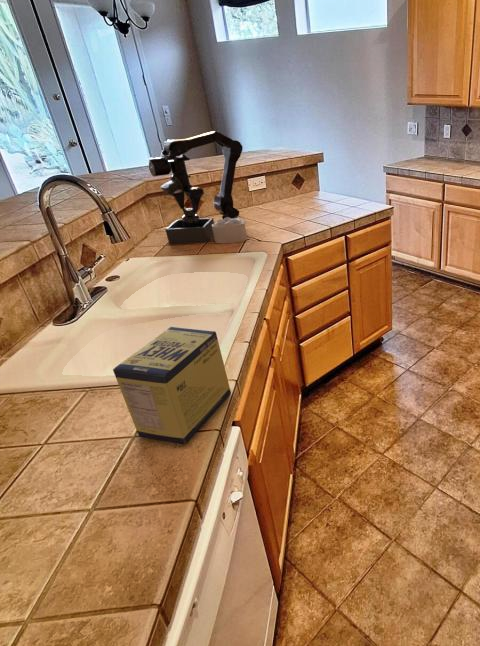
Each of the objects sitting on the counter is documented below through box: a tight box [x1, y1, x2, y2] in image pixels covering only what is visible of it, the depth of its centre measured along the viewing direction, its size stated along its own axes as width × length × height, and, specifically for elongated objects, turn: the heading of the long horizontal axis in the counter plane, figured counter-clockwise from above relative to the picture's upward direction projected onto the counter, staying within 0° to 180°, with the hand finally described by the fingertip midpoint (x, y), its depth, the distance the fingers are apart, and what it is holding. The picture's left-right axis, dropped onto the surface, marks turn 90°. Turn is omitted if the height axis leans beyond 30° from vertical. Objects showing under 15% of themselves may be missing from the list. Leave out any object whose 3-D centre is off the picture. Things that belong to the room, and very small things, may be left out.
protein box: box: [112, 326, 232, 445], centre depth 82 cm, size 10×16×16 cm
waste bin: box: [164, 217, 215, 245], centre depth 186 cm, size 16×15×7 cm
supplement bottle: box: [181, 207, 201, 228], centre depth 185 cm, size 7×7×12 cm
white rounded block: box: [212, 217, 248, 244], centre depth 183 cm, size 10×13×9 cm
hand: (189, 210), depth 183 cm, fingers open, 9 cm apart
